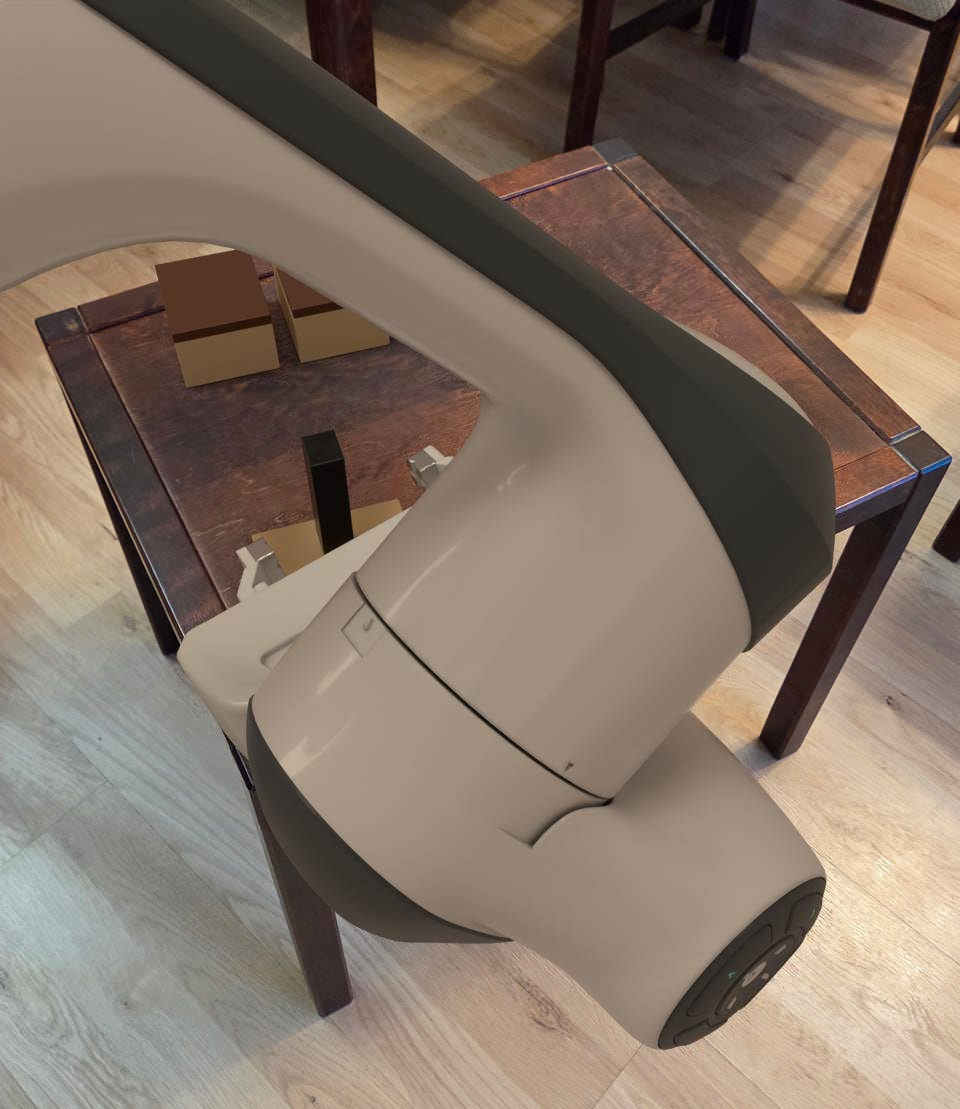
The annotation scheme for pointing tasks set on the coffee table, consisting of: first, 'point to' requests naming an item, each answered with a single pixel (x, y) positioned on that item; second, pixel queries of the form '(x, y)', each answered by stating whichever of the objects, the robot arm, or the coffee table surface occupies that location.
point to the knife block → (302, 541)
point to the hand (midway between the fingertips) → (339, 507)
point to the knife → (328, 489)
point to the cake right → (322, 322)
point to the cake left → (217, 317)
